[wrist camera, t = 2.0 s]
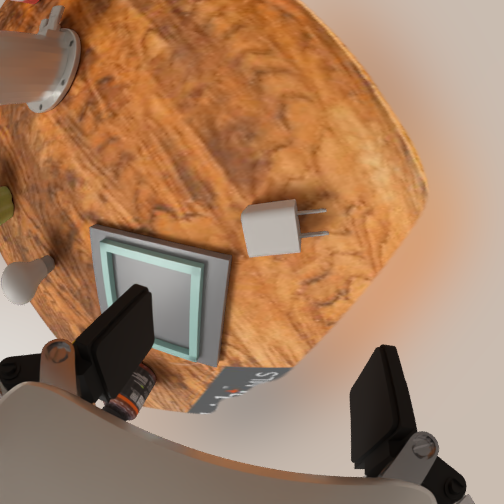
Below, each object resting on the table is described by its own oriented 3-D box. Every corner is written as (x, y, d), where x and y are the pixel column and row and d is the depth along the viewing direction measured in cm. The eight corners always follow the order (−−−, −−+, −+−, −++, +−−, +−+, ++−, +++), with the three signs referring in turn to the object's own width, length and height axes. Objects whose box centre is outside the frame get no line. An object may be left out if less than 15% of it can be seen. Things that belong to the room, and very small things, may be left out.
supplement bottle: (125, 370, 41) (94, 416, 31) (128, 353, 39) (92, 402, 28) (154, 388, 41) (126, 436, 31) (160, 371, 39) (129, 425, 28)
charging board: (95, 224, 30) (84, 229, 28) (232, 255, 28) (226, 265, 26) (108, 323, 37) (100, 331, 35) (219, 361, 35) (214, 372, 33)
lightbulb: (68, 261, 34) (17, 298, 24) (60, 284, 36) (16, 320, 26) (45, 234, 33) (-6, 264, 23) (39, 259, 35) (-6, 289, 25)
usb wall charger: (249, 203, 26) (240, 214, 22) (323, 194, 24) (326, 204, 20) (257, 243, 27) (249, 260, 23) (328, 235, 25) (331, 252, 22)
